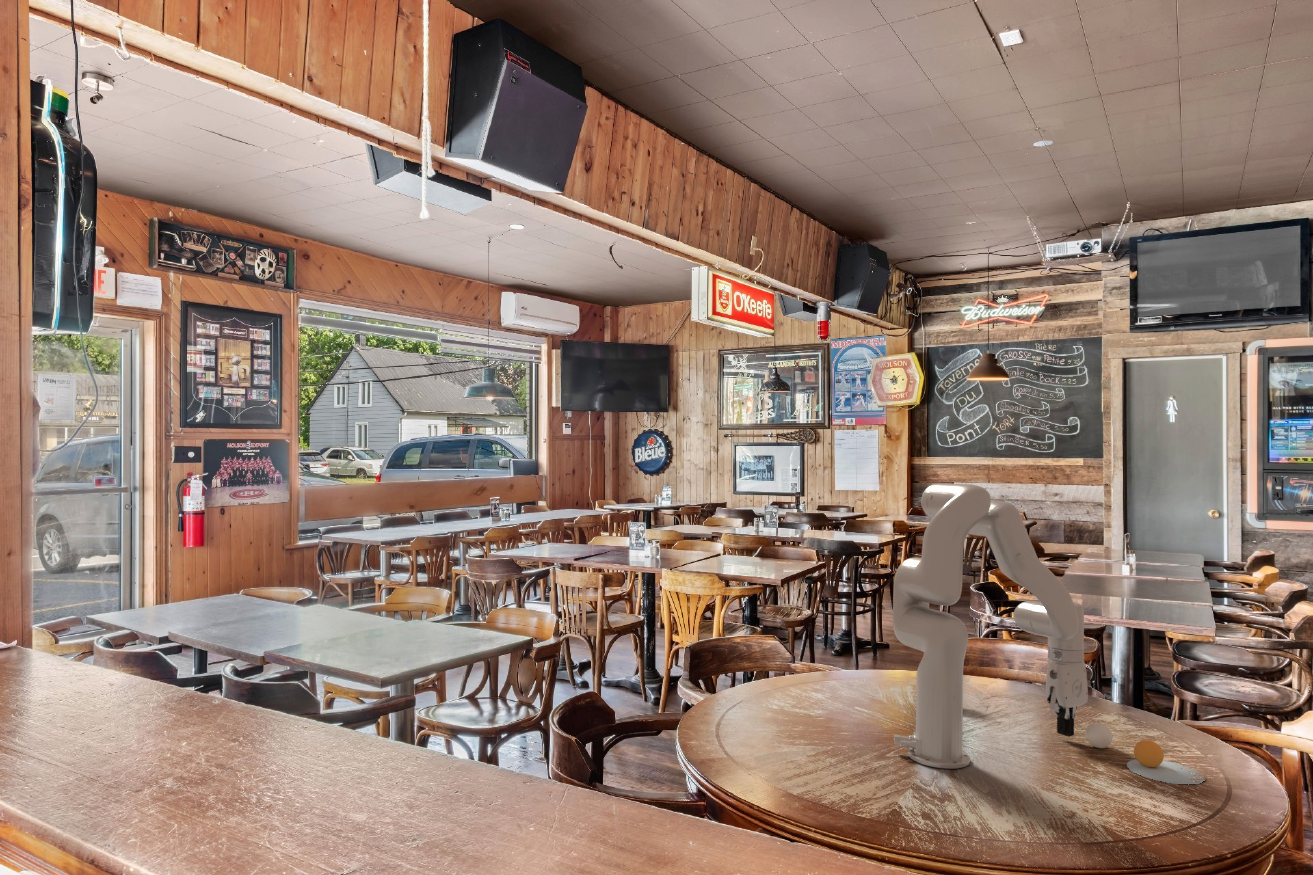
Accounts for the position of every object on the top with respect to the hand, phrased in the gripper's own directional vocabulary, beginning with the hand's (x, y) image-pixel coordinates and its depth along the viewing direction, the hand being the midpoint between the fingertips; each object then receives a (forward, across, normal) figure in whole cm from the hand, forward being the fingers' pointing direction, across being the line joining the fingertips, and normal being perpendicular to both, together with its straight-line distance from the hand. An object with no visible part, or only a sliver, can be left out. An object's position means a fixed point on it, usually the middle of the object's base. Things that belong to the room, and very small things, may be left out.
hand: (1065, 734), depth 191 cm
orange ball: (-1, 0, -19) cm, 19 cm away
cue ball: (-1, +2, -6) cm, 7 cm away
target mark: (+2, 0, -22) cm, 22 cm away
